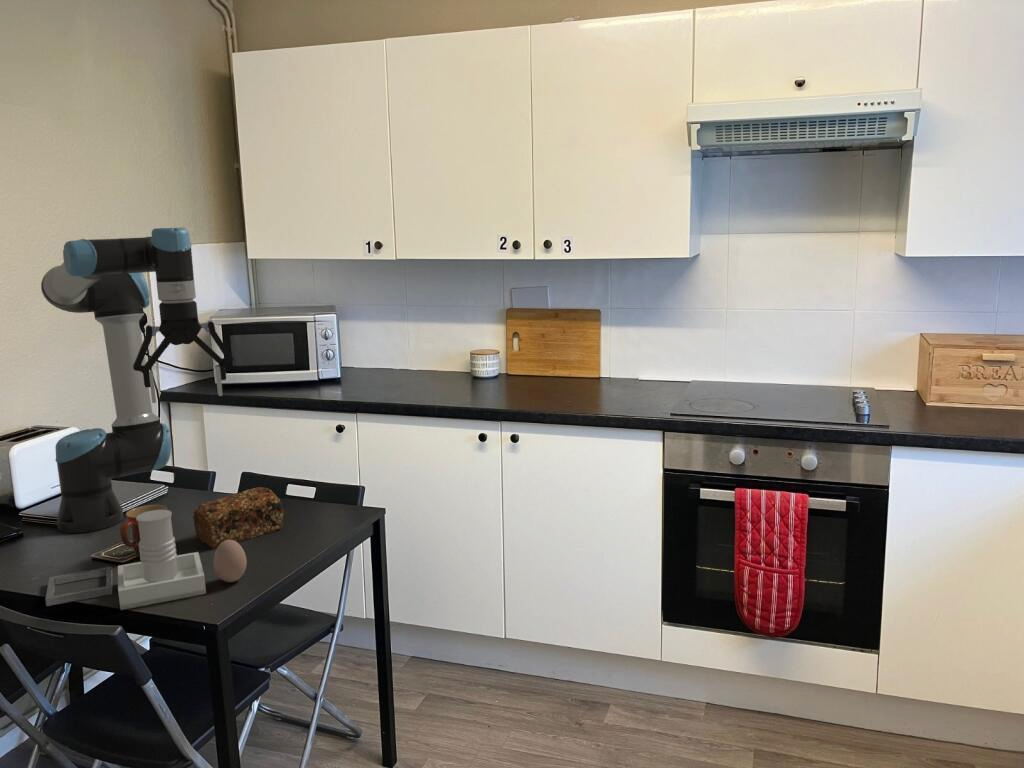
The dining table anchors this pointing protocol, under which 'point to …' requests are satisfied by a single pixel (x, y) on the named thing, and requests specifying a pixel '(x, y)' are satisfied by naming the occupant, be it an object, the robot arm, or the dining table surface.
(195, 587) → the bin
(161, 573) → the grey tall round piece
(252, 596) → the dining table surface
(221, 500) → the bread
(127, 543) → the mug
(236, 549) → the egg
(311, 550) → the dining table surface
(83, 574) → the grey square frame
